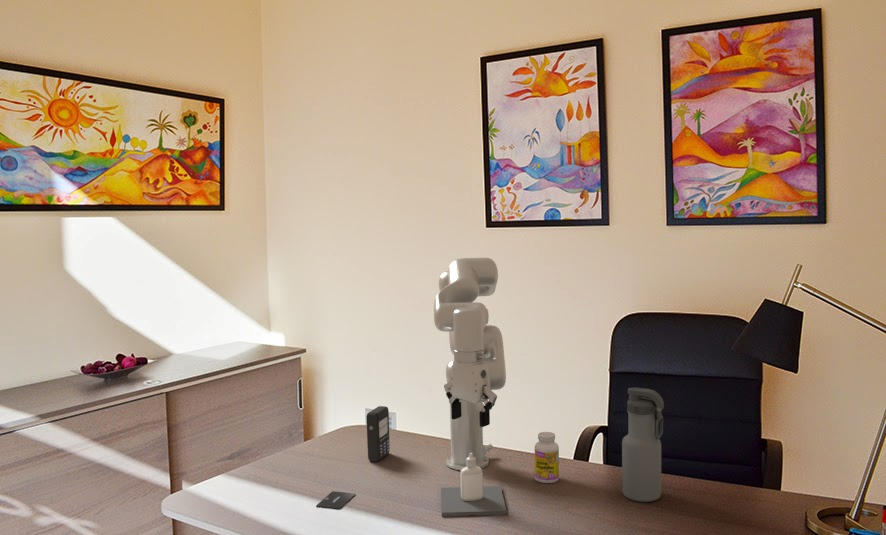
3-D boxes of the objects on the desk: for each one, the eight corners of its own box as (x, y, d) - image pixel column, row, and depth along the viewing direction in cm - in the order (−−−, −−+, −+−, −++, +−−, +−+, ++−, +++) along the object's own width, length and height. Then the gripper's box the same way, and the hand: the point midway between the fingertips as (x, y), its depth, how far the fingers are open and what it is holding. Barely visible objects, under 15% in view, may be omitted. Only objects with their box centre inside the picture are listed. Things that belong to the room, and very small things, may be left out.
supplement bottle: (532, 482, 202) (531, 436, 201) (538, 474, 209) (537, 429, 207) (556, 485, 200) (555, 439, 199) (561, 476, 206) (561, 431, 205)
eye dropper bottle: (480, 502, 187) (479, 456, 186) (459, 500, 189) (458, 455, 188) (484, 496, 191) (483, 451, 190) (463, 494, 193) (462, 449, 192)
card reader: (378, 463, 221) (377, 414, 219) (366, 461, 222) (364, 413, 221) (391, 453, 229) (390, 406, 228) (379, 452, 231) (378, 405, 229)
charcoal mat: (441, 491, 198) (440, 487, 198) (500, 489, 198) (500, 485, 198) (441, 516, 182) (441, 512, 182) (506, 514, 182) (506, 510, 182)
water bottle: (666, 492, 193) (666, 387, 191) (658, 506, 185) (658, 396, 182) (627, 486, 198) (627, 383, 196) (618, 499, 190) (617, 392, 187)
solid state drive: (315, 508, 190) (315, 505, 190) (332, 493, 199) (332, 491, 199) (340, 510, 188) (340, 508, 188) (356, 495, 197) (355, 493, 197)
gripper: (504, 358, 183) (506, 425, 185) (454, 349, 195) (455, 412, 197) (484, 363, 178) (486, 432, 180) (434, 354, 190) (436, 418, 192)
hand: (470, 421), depth 188 cm, fingers open, 9 cm apart
